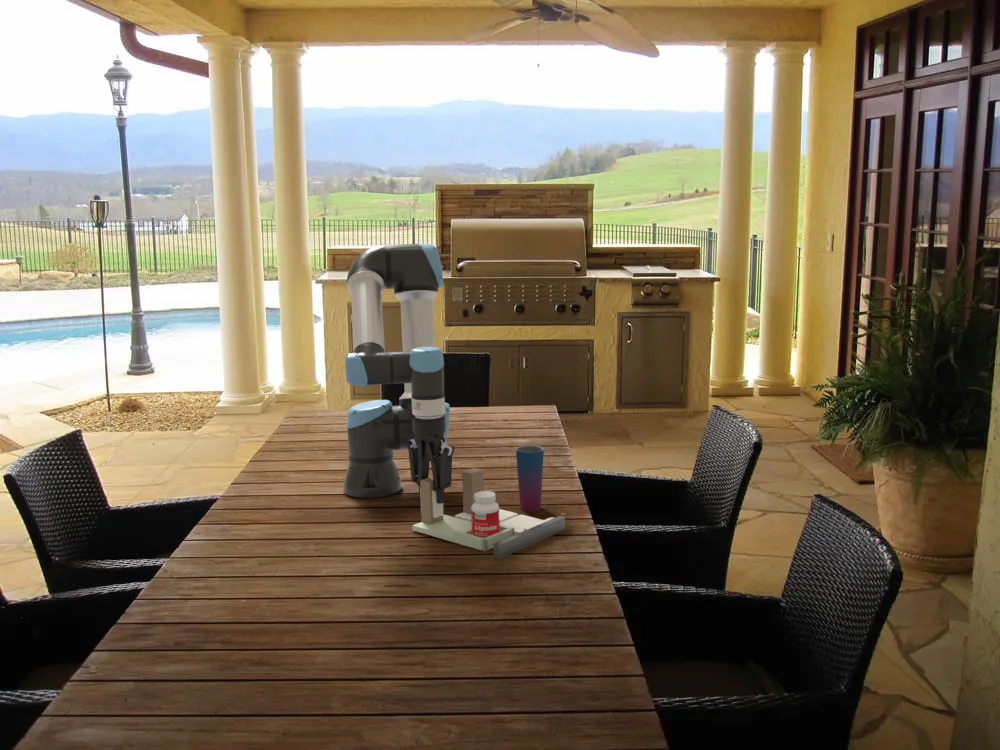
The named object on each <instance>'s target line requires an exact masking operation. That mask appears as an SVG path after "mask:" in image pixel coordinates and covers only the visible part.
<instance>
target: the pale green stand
mask: <svg viewBox="0 0 1000 750" xmlns="http://www.w3.org/2000/svg"><path fill="white" fill-rule="evenodd" d="M420 484H421V499H420V512H421V511H422V514H421V522H418V523H415V524H413V525H412V531H414V532H416V533H420V534H424V535H428V536H432V537H435V538H437V539H442V540H445V541H448V542H451V543H455V544H458V545H461V546H466V547H468V548H472V549H476V550H478V551H479V550H480V551H482V552H486V551H488V550H491V549H493V544H495V543H497V542H499V541H502V540H504V539H506V538H509V537H511V536H513V535H514V528H512V527H508V526H504V525H501V524H500V532H498V533H496V534H493V535H491V536H488V537H486V538H481V537H477V536H474V535H472V522H470V521H467V520H463V519H459V518H455V516H451V515H448V514H444V513H443V515H442V516H440V517H437V518H433V504H432V489H433V488H435V487H434V481H433V475H432V476H428V478H425V479H422V480H420Z"/></svg>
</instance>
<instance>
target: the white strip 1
mask: <svg viewBox="0 0 1000 750" xmlns="http://www.w3.org/2000/svg"><path fill="white" fill-rule="evenodd" d="M461 474H462V509H463V510H462V511H463V512H460V513H457V514H454V517H455V518H459V519H463V520H467V521H470V522H472V521H471V507H472V505H473V504H474V503H475V500H474V494H475V493H476V492H480V491H485V490H484V470H483V469H480V468H476V467H472V468H469V469H467V470H463V471H462V473H461ZM518 515H519V514H518V513H517V512H513V511H510V510H509V511H508V510H504V509H501V508H499V520H500V523H501V522H504V521H506V520H508V519H511V518H513V517H516V516H518Z"/></svg>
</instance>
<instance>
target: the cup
mask: <svg viewBox="0 0 1000 750" xmlns="http://www.w3.org/2000/svg"><path fill="white" fill-rule="evenodd" d="M544 451H545V450H544V447H543V446H540V445H532V444H531V445H521V446H518V447H516V448H515V458H516V459H515V460H516V470H517V484H518V493H519V494H518V495H519V507H520V510H521V511H523V512H537V511H540V510H541V508H542V495H543V494H542V493H543V492H542V490H543V474H544V473H543V472H544V469H543V468H544Z"/></svg>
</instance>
